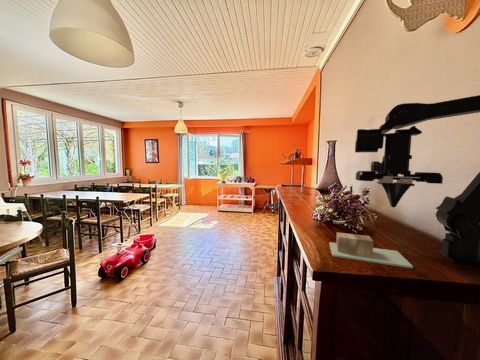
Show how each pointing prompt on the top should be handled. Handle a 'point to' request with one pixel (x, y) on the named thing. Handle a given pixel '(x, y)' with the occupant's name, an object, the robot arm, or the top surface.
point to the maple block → (354, 244)
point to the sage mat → (374, 256)
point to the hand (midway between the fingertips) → (392, 206)
